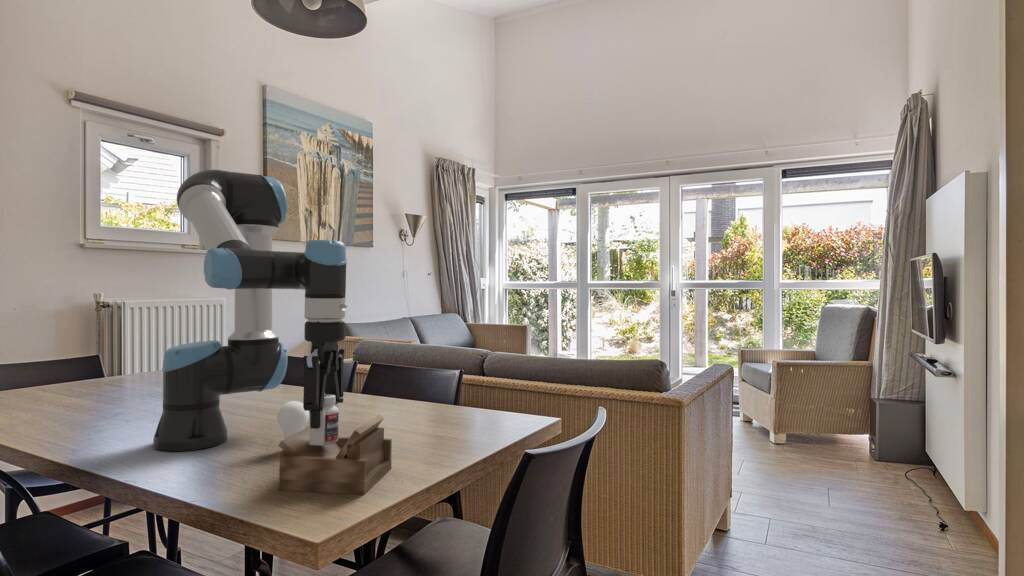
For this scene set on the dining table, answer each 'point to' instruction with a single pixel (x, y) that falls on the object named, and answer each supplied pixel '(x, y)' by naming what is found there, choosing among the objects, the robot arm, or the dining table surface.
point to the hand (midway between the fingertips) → (324, 440)
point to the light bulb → (292, 417)
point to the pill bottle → (330, 419)
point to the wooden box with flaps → (336, 461)
